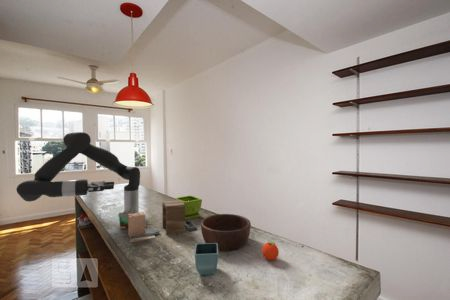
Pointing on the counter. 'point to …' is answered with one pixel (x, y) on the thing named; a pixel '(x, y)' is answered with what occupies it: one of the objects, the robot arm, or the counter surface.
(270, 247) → the clementine
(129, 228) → the tall wood-grain block
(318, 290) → the counter surface
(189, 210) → the flower pot
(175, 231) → the tunnel
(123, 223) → the food container
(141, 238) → the pad
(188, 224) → the pit tray
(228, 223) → the wooden bowl
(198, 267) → the flower pot
